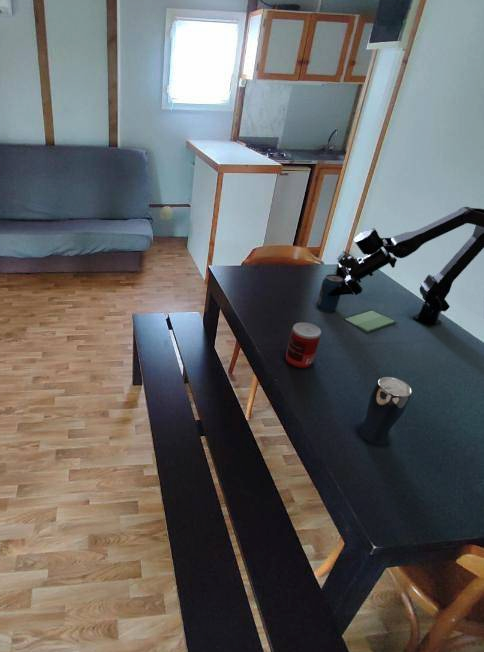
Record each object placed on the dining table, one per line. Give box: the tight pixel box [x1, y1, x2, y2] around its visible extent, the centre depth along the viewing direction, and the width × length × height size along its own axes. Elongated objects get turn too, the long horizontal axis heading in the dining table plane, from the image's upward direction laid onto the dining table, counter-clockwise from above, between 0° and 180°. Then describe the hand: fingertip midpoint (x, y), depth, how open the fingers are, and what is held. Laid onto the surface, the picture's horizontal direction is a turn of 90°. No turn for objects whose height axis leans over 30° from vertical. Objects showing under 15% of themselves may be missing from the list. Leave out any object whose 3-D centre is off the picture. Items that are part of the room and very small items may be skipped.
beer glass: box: [358, 376, 413, 446], centre depth 92 cm, size 7×7×15 cm
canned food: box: [285, 322, 322, 369], centre depth 118 cm, size 8×8×11 cm
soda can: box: [316, 273, 343, 313], centre depth 145 cm, size 7×7×12 cm
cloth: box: [344, 310, 396, 333], centre depth 141 cm, size 14×9×1 cm, turn 117°
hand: (327, 289), depth 145 cm, fingers open, 9 cm apart
